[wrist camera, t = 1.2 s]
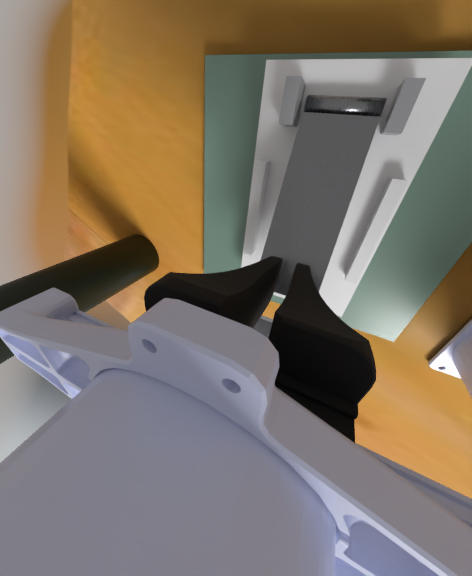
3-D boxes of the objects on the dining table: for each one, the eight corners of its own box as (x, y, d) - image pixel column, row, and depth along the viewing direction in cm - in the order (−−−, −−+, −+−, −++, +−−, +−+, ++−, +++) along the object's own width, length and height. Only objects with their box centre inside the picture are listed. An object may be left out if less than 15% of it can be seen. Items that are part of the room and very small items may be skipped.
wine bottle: (152, 235, 29) (-655, 576, 6) (163, 273, 32) (-336, 598, 8) (123, 233, 31) (-541, 470, 8) (135, 268, 34) (-320, 517, 11)
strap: (308, 102, 13) (308, 90, 12) (383, 105, 11) (388, 93, 11) (237, 347, 16) (233, 352, 15) (290, 369, 15) (289, 375, 14)
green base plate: (603, 55, 10) (788, -15, 6) (392, 335, 22) (403, 379, 17) (211, 59, 17) (164, 26, 12) (207, 274, 28) (182, 296, 24)
